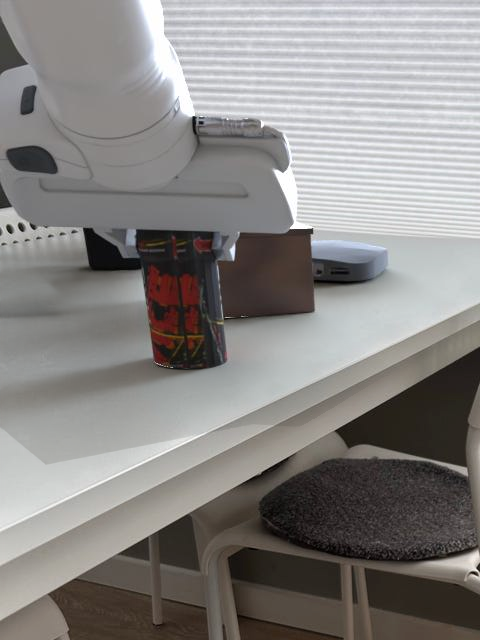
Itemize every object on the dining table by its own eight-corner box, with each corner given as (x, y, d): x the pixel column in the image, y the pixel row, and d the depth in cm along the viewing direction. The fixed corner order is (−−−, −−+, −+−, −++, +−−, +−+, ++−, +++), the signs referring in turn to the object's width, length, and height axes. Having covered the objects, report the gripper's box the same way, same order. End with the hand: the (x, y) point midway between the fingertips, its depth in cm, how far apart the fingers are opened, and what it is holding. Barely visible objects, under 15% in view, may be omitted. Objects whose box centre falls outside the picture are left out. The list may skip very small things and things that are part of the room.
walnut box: (198, 321, 92) (188, 232, 88) (163, 298, 101) (152, 216, 97) (317, 311, 97) (313, 227, 93) (274, 290, 107) (268, 212, 102)
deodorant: (142, 357, 80) (113, 158, 72) (207, 348, 83) (186, 157, 76) (172, 373, 76) (145, 164, 68) (240, 362, 79) (221, 163, 72)
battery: (149, 268, 115) (136, 178, 110) (90, 270, 113) (74, 178, 108) (146, 263, 119) (134, 174, 114) (89, 264, 117) (73, 174, 112)
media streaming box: (393, 265, 123) (392, 240, 122) (371, 285, 111) (370, 258, 109) (283, 259, 124) (281, 235, 123) (249, 279, 112) (246, 252, 110)
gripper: (286, 83, 64) (311, 222, 77) (-25, 71, 63) (55, 214, 76) (282, 162, 62) (308, 290, 76) (-38, 151, 61) (47, 283, 75)
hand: (179, 252), depth 76 cm, fingers closed on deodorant, 6 cm apart
